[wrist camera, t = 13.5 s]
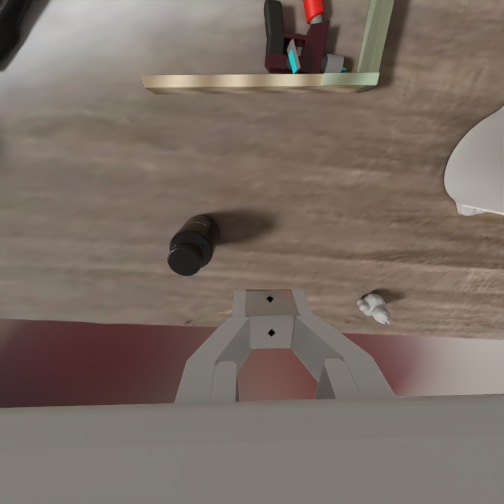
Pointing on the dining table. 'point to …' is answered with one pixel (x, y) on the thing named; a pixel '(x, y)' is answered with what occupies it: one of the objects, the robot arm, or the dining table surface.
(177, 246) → the supplement bottle
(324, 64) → the toy gun
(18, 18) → the electric trimmer
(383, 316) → the white rounded figure
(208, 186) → the dining table surface
